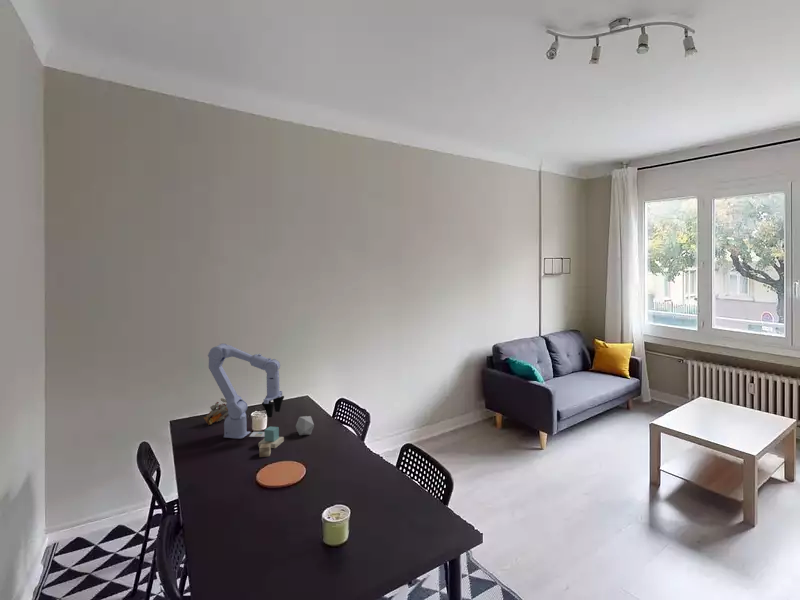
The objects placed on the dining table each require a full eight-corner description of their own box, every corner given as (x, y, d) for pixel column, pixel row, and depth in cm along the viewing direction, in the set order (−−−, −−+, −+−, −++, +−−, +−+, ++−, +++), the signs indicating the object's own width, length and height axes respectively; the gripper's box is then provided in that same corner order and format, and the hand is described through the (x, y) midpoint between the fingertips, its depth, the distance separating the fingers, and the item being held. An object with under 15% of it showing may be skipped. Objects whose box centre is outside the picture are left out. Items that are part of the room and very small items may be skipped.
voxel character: (207, 425, 216) (233, 407, 225) (217, 435, 211) (243, 415, 220) (199, 411, 210) (226, 392, 218) (209, 420, 204) (236, 401, 213)
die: (307, 440, 195) (318, 420, 199) (290, 430, 195) (302, 411, 198) (307, 439, 203) (318, 420, 207) (291, 430, 203) (302, 411, 206)
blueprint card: (248, 436, 197) (248, 436, 197) (253, 431, 203) (253, 431, 203) (265, 436, 197) (265, 436, 197) (269, 432, 203) (269, 431, 203)
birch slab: (258, 448, 186) (258, 442, 186) (267, 441, 194) (267, 435, 194) (275, 449, 184) (275, 443, 184) (283, 442, 192) (283, 437, 192)
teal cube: (264, 440, 188) (264, 429, 187) (269, 437, 192) (269, 426, 192) (273, 441, 187) (273, 430, 186) (278, 438, 191) (278, 427, 191)
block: (259, 457, 176) (259, 447, 175) (261, 453, 180) (260, 444, 179) (269, 456, 176) (269, 447, 176) (270, 452, 180) (270, 443, 180)
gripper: (273, 390, 190) (274, 420, 191) (287, 382, 205) (288, 409, 205) (259, 389, 192) (259, 418, 193) (274, 381, 206) (275, 408, 207)
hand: (273, 414), depth 199 cm, fingers open, 7 cm apart
